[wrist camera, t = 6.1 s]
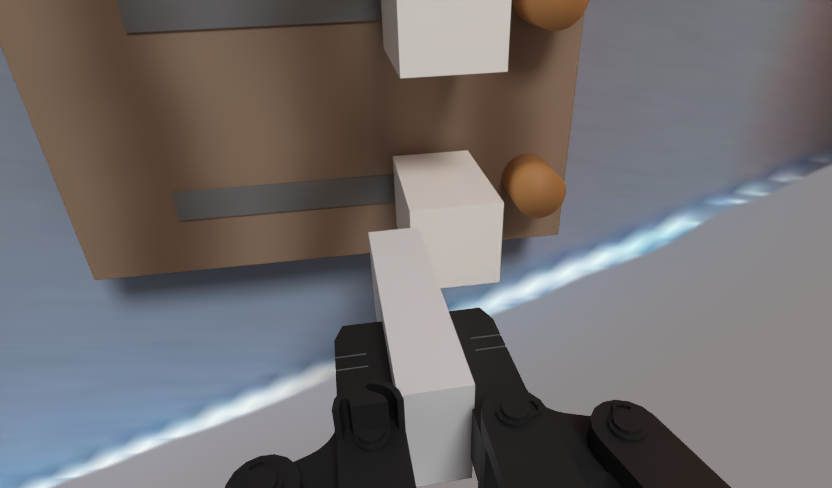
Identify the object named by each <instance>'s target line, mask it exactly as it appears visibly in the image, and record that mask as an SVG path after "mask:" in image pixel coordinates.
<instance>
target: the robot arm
mask: <svg viewBox="0 0 832 488" xmlns="http://www.w3.org/2000/svg"><path fill="white" fill-rule="evenodd" d="M368 236H369V247H370V259H371V271H372V282H373V294H374V305H375V312H376V319H377V322H372V323H364V324H356V325H349V326H342V328H341V330H340V332H339V333H338V335H337V337H336V339H335V363H336V384H337V385H336V386H337V396H336V398H335V399H334V403H333V407H332V413H333V420H334V426H335V433H334V434H333V436H332V437H331V438H330V440H329V441H328V442H327V443H326V444H325V445H324V446H323V447H322V448H320V449H319V450H318V451H316V452H314V453H312V454H310V455H308V456H306V457H304V458H302V459H299V460H297V461H295V462H292V461H291V460H290V459H288V458H287V457H283V456H279V455H275V454H274V455H267V456H260V457H257V458H255V459H253V460H250V461H248V462H246V463H245V464H244V465H242V466H241V467H240V468H239V469H238V470H236V471H235V472H234V473H233V475H232V476H231V478H230V479H229V481H228V483H227V484H226V486H225V488H416V487H419V486H425V485H431V484H437V483H443V482H449V481H454V480H461V479H466V478H472V463H473V466H474V470H475V473H476V476H477V480H478V488H731V487H730V486H729V485H728V484H727V483H726V482H725V481H723V480H722V479H721V478H720V477H719V476H718V475H717V474H716V473H715V472H714V471H713V470H712V469H711V468H709V467H708V466H707V465H706V464H705V463H704V462H703V461H702V460H701V459H700V458H699V457H698V456H697V455H695V453H694V452H693V451H691V450H690V449H689V448H688V447H687V446H686V445H685V444H684V443H683V442H682V441H681V440H680V439H679V438H678V437H676V436H675V435H674V434H673V433H672V432H671V431H670V430H669V429H668V428H667V427H666V426H665V425H664V424H663V423H661V421H659V420H658V419H657V418H656V417H655V416H654V415H653V414H652V413H650V412H649V411H647V410H646V409H644V408H643V407H642V406H639V405H636V404H634V403H631V402H628V401H620V400H612V401H607V402H603V403H601V404H600V405H598V406H597V407H595V408H594V410H593V413H592V415H591V416H583V415H576V414H567V413H562V412H557V411H554V410H551V409H549V408H546V407H545V406H544V404H543V403H542V402H541V400H540V399H538V398H537V397H535V396H534V395H532V394H531V393H529V392H528V391H527V389H526V388H525V385H524V383H523V381H522V379H521V377H520V375H519V373H518V371H517V368H516V366H515V364H514V362H513V360H512V358H511V356H510V354H509V352H508V350H507V348H506V347H505V343H504V341H503V339H502V337H501V336H500V333H499V331H498V329H497V327H496V324H495V322H494V320H493V319H492V318H491V317H490V316H489V315H488V314H486V313H485V312H484V311H483V310H481V309H480V308H473V309H465V310H457V311H448V308H447V306H446V303H445V300H444V297H443V295H442V292H441V289H440V286H439V284H438V281H437V278H436V275H435V273H434V270H433V267H432V264H431V262H430V259H429V256H428V253H427V251H426V248H425V245H424V242H423V240H422V237H421V234H420V231H419V229H418V227H414V228H404V229H395V230H385V231H376V232H368Z"/></svg>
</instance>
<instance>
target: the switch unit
mask: <svg viewBox="0 0 832 488" xmlns="http://www.w3.org/2000/svg"><path fill="white" fill-rule="evenodd" d="M588 2H589V0H512V1H511V20H510V38H509V57H508V72H496V73H480V74H464V75H448V76H432V77H416V78H400V77H399V75H398V74H397V72H396V70H395V68H394V66H393V65H392V63H391V61H390V59H389V57H388V56H387V54H386V52H385V50H384V46H383V29H382V12H381V0H0V45H1V48H2V50H3V53H4V55H5V58H6V60H7V63H8V65H9V68H10V70H11V73H12V75H13V78H14V80H15V83H16V85H17V88H18V90H19V93H20V95H21V98H22V100H23V103H24V105H25V108H26V110H27V113H28V115H29V118H30V120H31V123H32V125H33V128H34V130H35V133H36V135H37V138H38V140H39V143H40V145H41V148H42V150H43V153H44V155H45V158H46V160H47V162H48V165H49V167H50V170H51V172H52V175H53V177H54V180H55V182H56V185H57V187H58V190H59V192H60V195H61V197H62V200H63V202H64V205H65V207H66V210H67V212H68V215H69V217H70V220H71V222H72V225H73V227H74V230H75V232H76V235H77V237H78V240H79V242H80V245H81V247H82V250H83V252H84V255H85V257H86V260H87V262H88V265H89V267H90V270H91V272H92V275H93V277H94V280H103V279H113V278H123V277H133V276H143V275H153V274H163V273H173V272H184V271H194V270H204V269H214V268H224V267H234V266H244V265H254V264H264V263H275V262H285V261H295V260H305V259H315V258H325V257H335V256H345V255H355V254H365V253H370V247H369V236H368V232H376V231H385V230H395V229H398V228H397V224H396V206H395V188H394V170H393V156H401V155H414V154H427V153H439V152H452V151H465V150H468V151H469V153H470V154H471V156H472V157H473V159H474V160H475V161H476V163H477V164H478V166H479V167H480V169H481V170H482V172H483V173H484V174H485V176H486V177H487V179H488V180H489V182H490V183H491V185H492V186H493V187H494V189H495V190H496V192H497V193H498V195H499V196H500V198H501V199H502V200H503V202H504V211H503V229H502V240H507V239H517V238H527V237H537V236H547V235H557V234H558V231H559V222H560V214H561V205H562V203H563V201H564V198H565V194H566V187H565V183H564V180H565V171H566V163H567V155H568V146H569V138H570V129H571V121H572V112H573V104H574V95H575V87H576V78H577V70H578V61H579V53H580V44H581V36H582V28H583V19H584V12H585V10H586V8H587V5H588Z"/></svg>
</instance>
